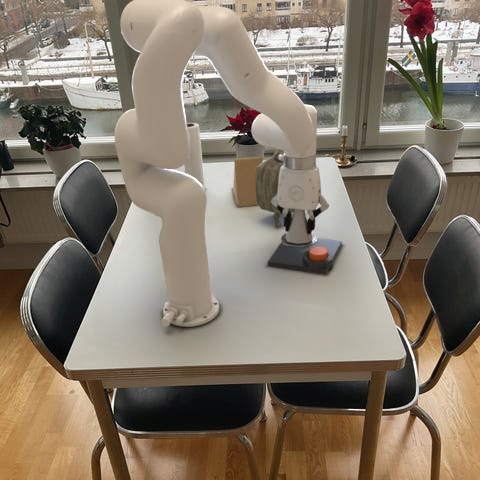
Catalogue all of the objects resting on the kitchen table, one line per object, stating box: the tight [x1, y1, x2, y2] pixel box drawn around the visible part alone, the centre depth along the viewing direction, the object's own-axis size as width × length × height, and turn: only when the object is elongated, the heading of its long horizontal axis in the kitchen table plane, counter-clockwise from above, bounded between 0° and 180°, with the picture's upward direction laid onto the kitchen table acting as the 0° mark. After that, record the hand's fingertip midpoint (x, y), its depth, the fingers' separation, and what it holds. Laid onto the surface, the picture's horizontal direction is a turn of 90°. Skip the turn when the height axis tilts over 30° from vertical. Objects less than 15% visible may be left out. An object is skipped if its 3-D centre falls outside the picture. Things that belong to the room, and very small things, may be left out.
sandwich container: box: [232, 156, 264, 208], centre depth 168 cm, size 9×15×15 cm, turn 6°
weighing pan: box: [280, 231, 319, 248], centre depth 139 cm, size 9×9×1 cm
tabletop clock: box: [255, 149, 294, 228], centre depth 150 cm, size 14×9×25 cm, turn 137°
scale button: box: [309, 247, 328, 261], centre depth 131 cm, size 4×4×2 cm
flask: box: [285, 209, 313, 244], centre depth 136 cm, size 7×7×10 cm
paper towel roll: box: [183, 122, 206, 191], centre depth 172 cm, size 7×6×21 cm
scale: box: [267, 237, 343, 276], centre depth 137 cm, size 16×16×3 cm
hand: (299, 230), depth 137 cm, fingers open, 5 cm apart
